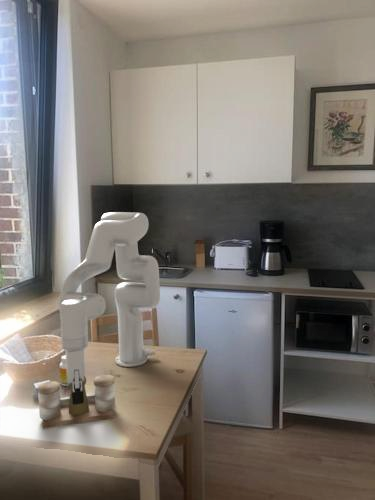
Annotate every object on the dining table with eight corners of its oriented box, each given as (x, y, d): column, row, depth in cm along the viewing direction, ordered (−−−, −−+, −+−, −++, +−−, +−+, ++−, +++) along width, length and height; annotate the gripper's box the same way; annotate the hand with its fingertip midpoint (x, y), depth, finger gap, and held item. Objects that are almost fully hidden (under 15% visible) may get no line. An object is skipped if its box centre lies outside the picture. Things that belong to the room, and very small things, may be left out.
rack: (113, 401, 137) (112, 370, 135) (117, 417, 127) (116, 384, 126) (40, 411, 131) (38, 379, 130) (38, 429, 122) (36, 394, 120)
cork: (77, 403, 133) (75, 369, 131) (93, 407, 130) (91, 373, 129) (64, 412, 127) (62, 377, 126) (80, 417, 125) (78, 381, 123)
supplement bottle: (72, 387, 147) (70, 360, 146) (57, 385, 148) (56, 359, 147) (79, 380, 153) (77, 354, 151) (65, 378, 154) (63, 353, 152)
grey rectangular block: (49, 391, 145) (49, 380, 144) (52, 396, 141) (51, 384, 141) (34, 394, 142) (33, 383, 142) (36, 399, 139) (36, 388, 138)
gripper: (62, 333, 133) (65, 388, 135) (61, 353, 117) (64, 415, 119) (87, 330, 135) (89, 385, 137) (89, 350, 119) (92, 412, 121)
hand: (78, 399), depth 128 cm, fingers closed on cork, 4 cm apart
